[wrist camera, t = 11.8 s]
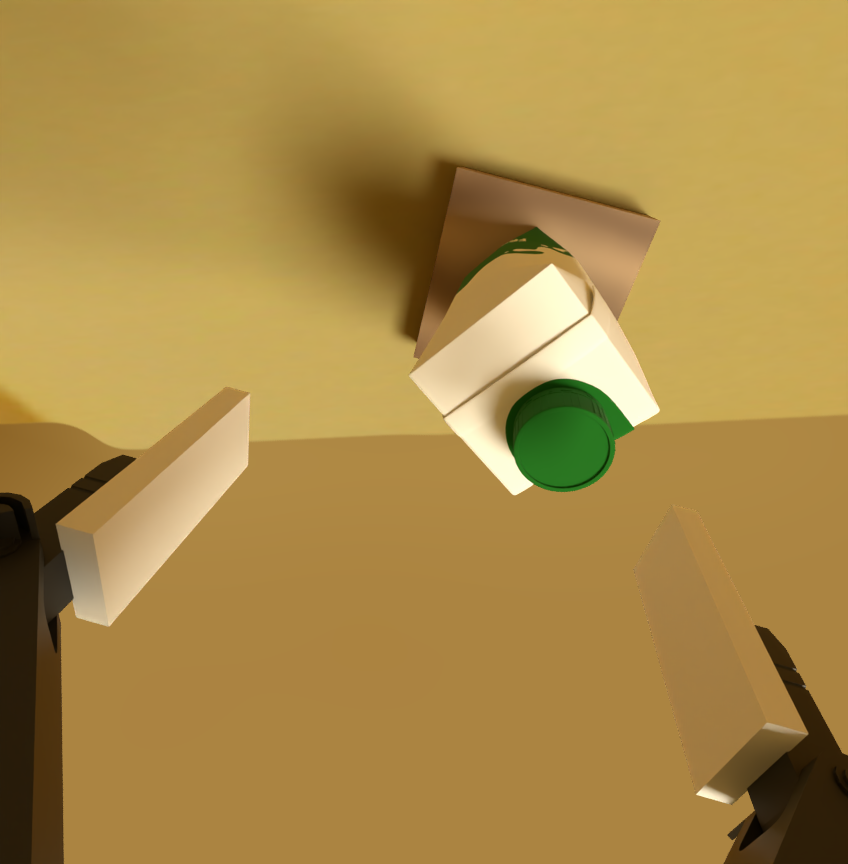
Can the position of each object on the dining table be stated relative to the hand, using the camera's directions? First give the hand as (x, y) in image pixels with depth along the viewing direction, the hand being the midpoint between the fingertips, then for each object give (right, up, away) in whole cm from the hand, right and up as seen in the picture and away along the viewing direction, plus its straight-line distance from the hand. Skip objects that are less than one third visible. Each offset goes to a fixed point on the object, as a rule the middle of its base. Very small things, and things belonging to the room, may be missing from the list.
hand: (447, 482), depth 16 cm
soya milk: (+7, +12, +22) cm, 26 cm away
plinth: (+7, +14, +25) cm, 29 cm away
